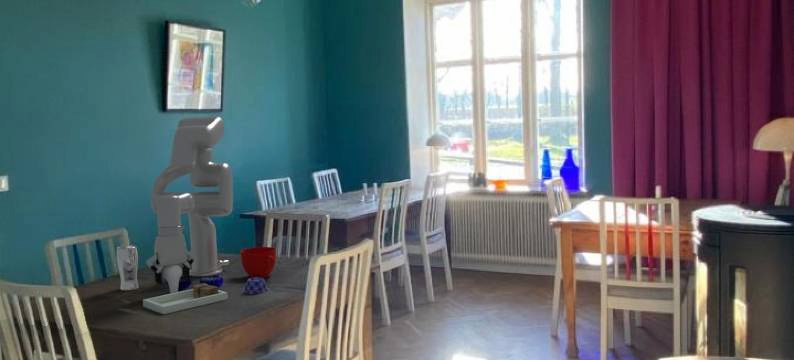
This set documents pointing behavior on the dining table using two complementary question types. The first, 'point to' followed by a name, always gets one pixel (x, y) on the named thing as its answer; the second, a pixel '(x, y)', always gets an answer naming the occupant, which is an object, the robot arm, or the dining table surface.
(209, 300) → the tray
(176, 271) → the lightbulb
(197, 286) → the walnut block
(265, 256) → the ceramic cup
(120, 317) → the dining table surface
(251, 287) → the pudding
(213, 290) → the walnut block
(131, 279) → the beer glass
